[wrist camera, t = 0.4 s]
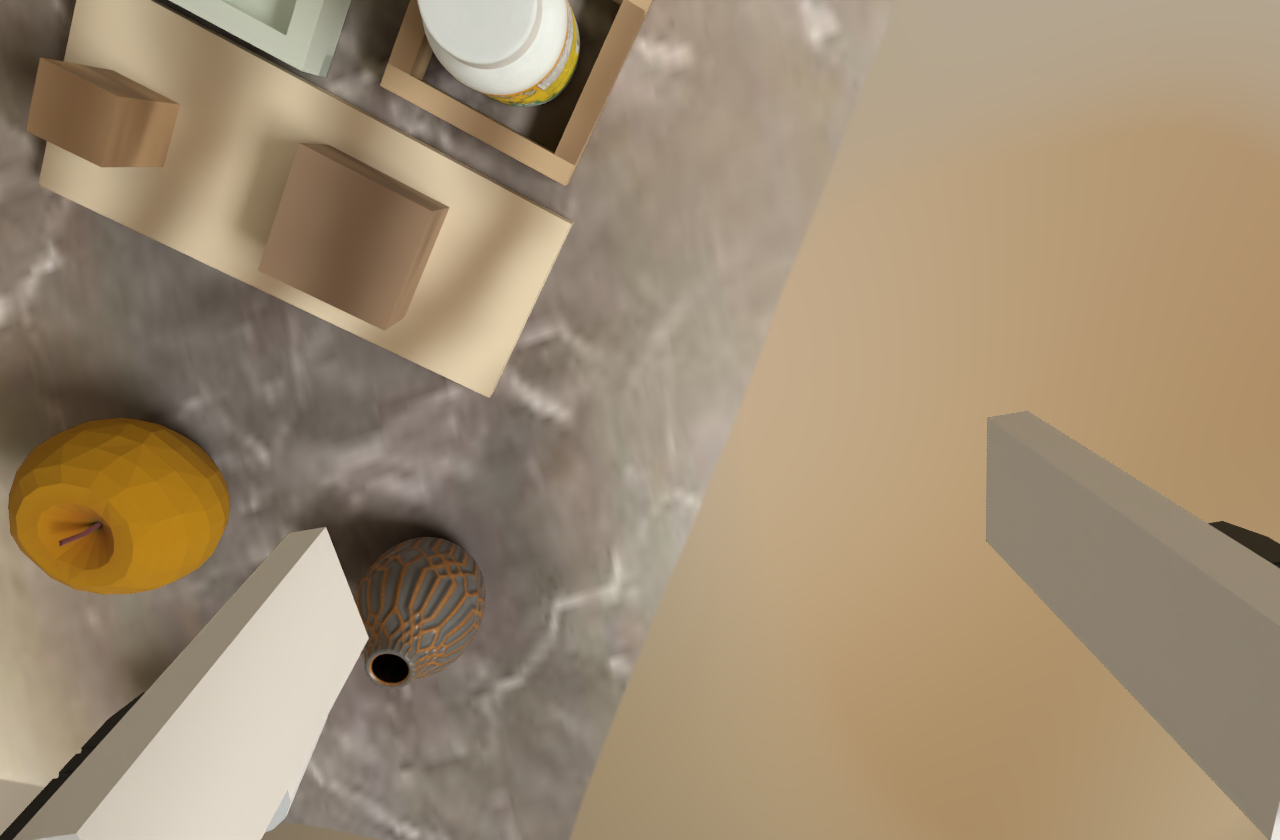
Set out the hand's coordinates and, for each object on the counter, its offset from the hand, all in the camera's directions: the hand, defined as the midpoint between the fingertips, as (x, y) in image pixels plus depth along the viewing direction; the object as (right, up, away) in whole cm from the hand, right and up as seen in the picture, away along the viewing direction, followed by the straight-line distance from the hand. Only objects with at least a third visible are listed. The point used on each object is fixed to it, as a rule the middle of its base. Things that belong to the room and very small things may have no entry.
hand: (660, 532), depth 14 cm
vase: (-13, -7, +28) cm, 31 cm away
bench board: (-16, +13, +20) cm, 29 cm away
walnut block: (-14, +11, +20) cm, 26 cm away
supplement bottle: (-6, +20, +18) cm, 27 cm away
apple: (-26, 0, +25) cm, 36 cm away
